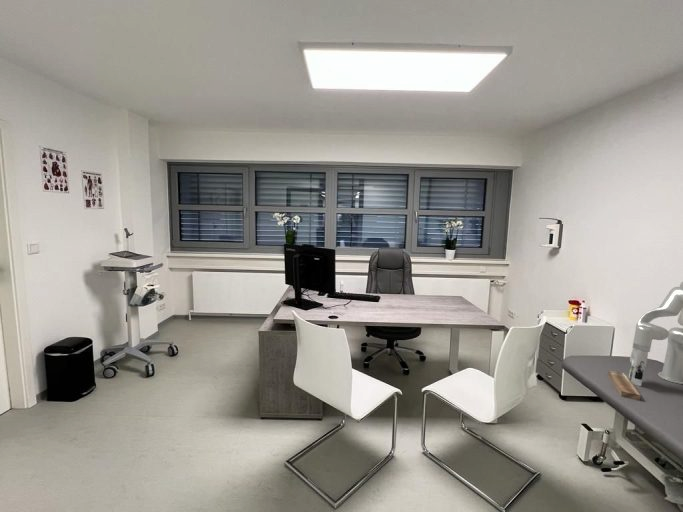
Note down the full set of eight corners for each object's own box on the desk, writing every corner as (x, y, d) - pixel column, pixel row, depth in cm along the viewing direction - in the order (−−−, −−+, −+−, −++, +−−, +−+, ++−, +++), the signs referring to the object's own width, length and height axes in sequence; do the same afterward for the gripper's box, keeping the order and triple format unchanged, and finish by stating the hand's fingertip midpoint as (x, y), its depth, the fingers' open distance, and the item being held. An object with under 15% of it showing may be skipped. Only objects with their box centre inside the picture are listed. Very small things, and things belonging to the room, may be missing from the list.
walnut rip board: (624, 378, 200) (625, 373, 200) (639, 400, 177) (641, 395, 176) (607, 375, 203) (608, 370, 203) (620, 396, 180) (621, 390, 180)
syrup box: (627, 379, 199) (632, 356, 197) (641, 383, 195) (645, 359, 193) (628, 383, 195) (632, 359, 192) (641, 386, 191) (646, 363, 189)
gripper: (628, 340, 201) (623, 368, 204) (638, 351, 185) (632, 381, 188) (644, 343, 198) (639, 371, 200) (655, 354, 182) (650, 384, 185)
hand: (636, 375), depth 194 cm, fingers closed on syrup box, 6 cm apart
